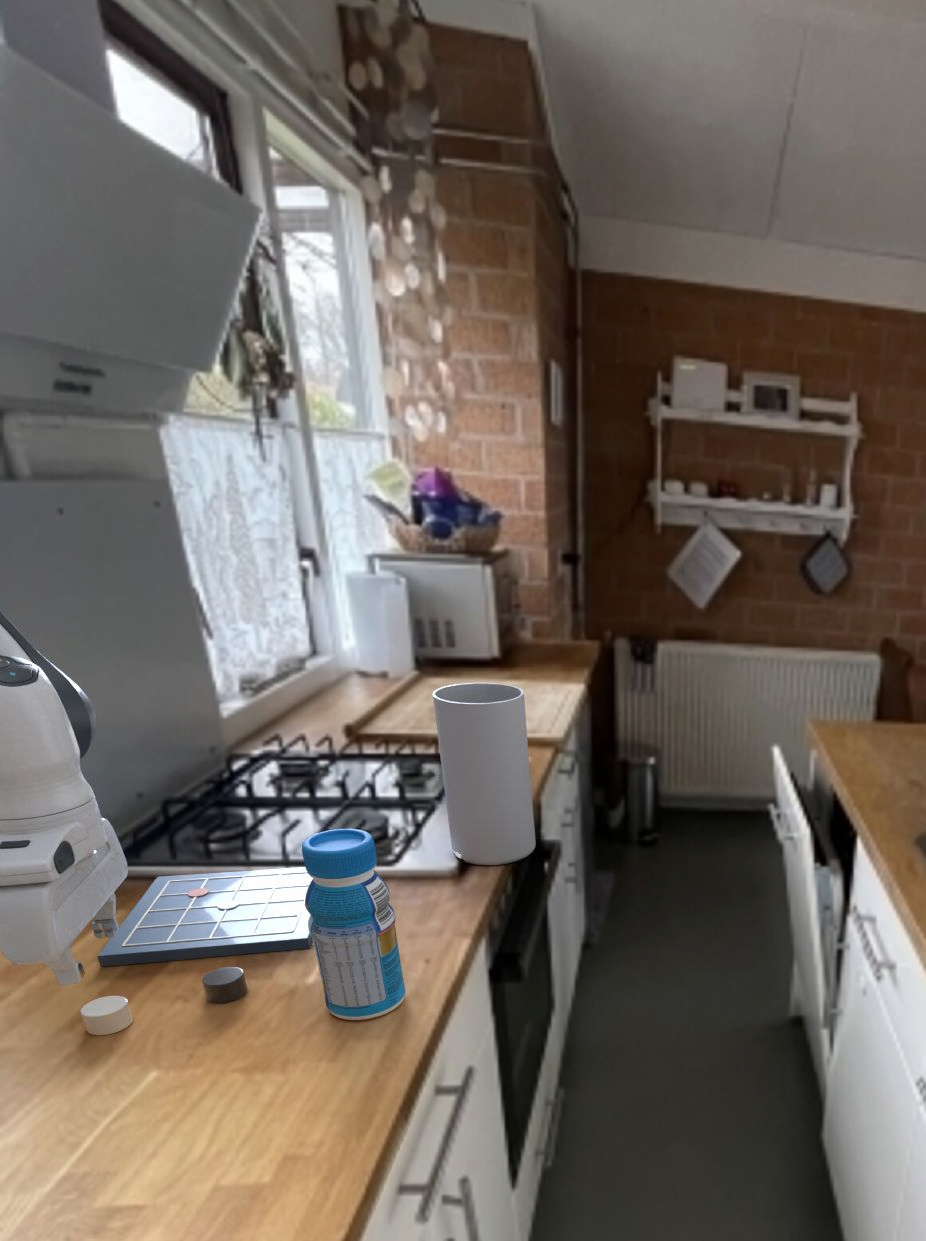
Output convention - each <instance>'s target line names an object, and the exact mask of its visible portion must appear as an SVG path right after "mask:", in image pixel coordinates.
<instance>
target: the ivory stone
mask: <svg viewBox="0 0 926 1241" xmlns="http://www.w3.org/2000/svg"><path fill="white" fill-rule="evenodd" d="M79 1012H80V1015H81V1018H82V1021H83V1025H84V1026H85V1029H86V1032H87V1033H88V1034H90V1035H92V1036H107V1035H112V1034H115V1033H118V1032H121V1031H124V1030H125V1029H127V1028H128V1027H129V1026H130V1025H132V1023H133V1022H134V1016H133V1013H132V1010H131V1007H130V1004H129V1001H128V999H127V998H126V996H125V997H124V996H121V995H107V996H102V997H98V998H96V999H93V1000H91V1001H89V1002H87V1003H85V1004H84V1005H83V1006H82V1007H81V1008H80V1011H79Z"/></svg>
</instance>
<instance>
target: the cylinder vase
mask: <svg viewBox="0 0 926 1241" xmlns="http://www.w3.org/2000/svg"><path fill="white" fill-rule="evenodd" d="M432 701H433V710H434V718H435V726H436V734H437V742H438V749H439V757H440V765H441V772H442V781H443V782H442V783H443V789H444V796H445V806H446V814H447V820H448V828H449V837H450V845H451V850H452V849H453V850H454V851H455V852H458V853H459V854H461V855H462V858H463V860H464V861H465V862H464V861H463V862H464V863H467V864H472V865H477V866H499V865H506V864H511V863H515V862H517V861H521V860H523V859H524V858H527V857H529V855H531V854H532V853H533V852H534V850H535V848H536V844H537V842H536V830H535V817H534V806H533V805H534V804H533V794H532V792H533V791H532V780H531V766H530V753H529V743H528V742H529V741H528V729H527V718H526V716H527V715H526V705H525V692H524V690H523V689H522V688H520V687H518V686H514V685H510V684H506V683H497V682H495V683H494V682H466V683H458V684H457V683H456V684H451V685H446V686H441V687H440V688H437V689H435V690H433V692H432Z"/></svg>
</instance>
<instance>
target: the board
mask: <svg viewBox="0 0 926 1241" xmlns="http://www.w3.org/2000/svg"><path fill="white" fill-rule="evenodd" d="M312 879H313V878H312V877H310V876H309V874H308V872H307V871H306V868H305V866H303V867H302V866H301V867H288V868H287V867H286V868H273V869H272V868H271V869H255V870H254V869H253V870H242V871H241V870H240V871H239V870H238V871H226V872H223V871H222V872H210V873H195V874H194V873H193V874H177V875H161V876H156V878H155V879H154V881H153V882H152V883H151V885H150V886H149V888H148V889H147V890H145V892H144V893H143V895H142V896H141V898H139V900H138V901H137V903H136V905H135V906H133V908H132V910H131V911H130V912H129V913H128V915H127V916H126V918H124V920H123V921H122V923H121V924H120V925H119V930H118V931H117V932H116V934H115V935H114V936H113V937H111V938H109V939H108V941H107V942H106V944H105V945H104V947H103V948H102V949H101V950H100V952H99V953H98V955H97V960H98V963H99V966H100V967H101V968H104V967H115V966H116V967H117V966H125V965H126V966H127V965H138V964H139V965H140V964H149V963H151V964H152V963H160V962H173V961H182V960H194V959H206V958H207V959H208V958H216V957H217V958H218V957H228V956H229V957H230V956H237V955H238V956H240V955H250V954H251V955H252V954H263V953H274V952H284V951H295V950H297V951H298V950H306V949H307V950H308V949H311V947H312V944H313V939H312V937H311V935H310V933H309V928H308V920H309V917H310V915H311V914H310V913H309V912H308V911H307V910H306V907H305V897H306V892H307V889H308V887H309V884H310V882H311V881H312Z"/></svg>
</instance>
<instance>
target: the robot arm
mask: <svg viewBox="0 0 926 1241" xmlns="http://www.w3.org/2000/svg"><path fill="white" fill-rule="evenodd" d="M96 730H97V714H96V711H95V708H94V706H93V703H92V702H91V700H90V698H89V696H87V694H86V693H85V692H84V690H83V689H82V688H81V687H80V686H79V685H78V684H77V683H76V682H74V681H73V679H72V678H70V677H69V676H67V675H66V673H64V672H63V671H61V669H59V668H58V667H56V666H55V665H54V664H53V663H52V662H50V661H49V660H48V659H47V657H45V656H43V655H42V654H41V653H40V651H39V650H37V648H35V647H34V646H33V644H32V643H31V642H30V641H29V640H28V639H27V638H26V637H25V636H24V635H23V634H22V633H21V631H19V629H18V628H17V627H16V626H15V625H14V624H13V623H12V622H11V621H10V619H8V618H7V617H6V615H5V614H4V613H3V612H2V611H1V610H0V952H1V953H2V955H3V957H4V958H5V959H6V960H8V961H9V962H11V963H13V964H14V965H17V966H27V965H39V964H43V965H45V966H46V967H47V968H49V969H50V970H51V971H52V972H53V975H54V977H55V979H56V982H57V983H58V985H60V986H72V985H78V984H79V983H80V982H81V980H82V979H83V978H84V977H85V975H86V971H85V969H84V965H83V963H82V960H75V959H74V958H73V956H72V955H71V953H72V952H73V949H72V944H73V943H74V941H76V939H77V938H78V937H79V936H80V935H81V933H82V932H83V931H84V929H85V928H86V927H87V925H88V924H90V927H91V929H92V931H93V935H94V937H95V938H97V939H105V938H107V939H111V937H113V936H114V935H115V934H116V932H117V931H118V930H119V927H120V925H119V922H118V920H117V917H116V916H117V908H116V907H117V896H116V894H115V892H116V891H117V889H118V887H120V885H122V883H123V882H124V881H125V879H126V878H127V877H128V874H129V873H128V861H127V858H126V856H125V853H124V851H123V847H122V846H121V842H120V840H119V838H118V836H117V834H116V831H115V829H114V827H113V825H112V823H111V822H110V821H109V820H108V819H107V818H105V817H103V816H102V814H101V811H100V808H99V805H98V801H97V799H96V796H95V793H94V790H93V788H92V786H91V785H90V784H89V782H88V781H87V780H86V778H85V776H84V774H83V773H82V769H81V760H82V758H84V757H85V755H86V754H87V753H88V751H89V749H90V747H91V745H92V743H93V740H94V738H95V736H96V735H95V734H96ZM91 921H92V922H91ZM90 922H91V923H90Z"/></svg>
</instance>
